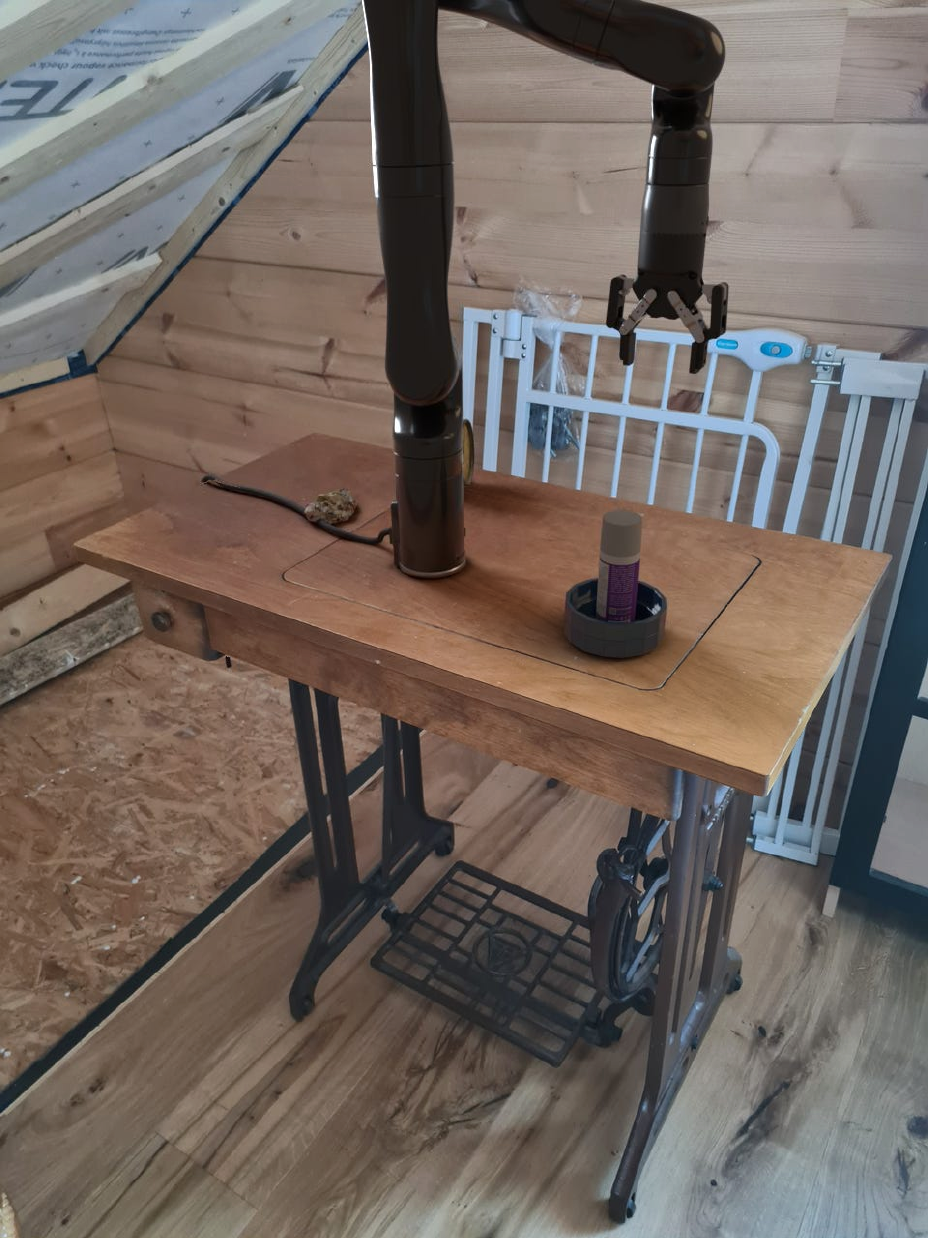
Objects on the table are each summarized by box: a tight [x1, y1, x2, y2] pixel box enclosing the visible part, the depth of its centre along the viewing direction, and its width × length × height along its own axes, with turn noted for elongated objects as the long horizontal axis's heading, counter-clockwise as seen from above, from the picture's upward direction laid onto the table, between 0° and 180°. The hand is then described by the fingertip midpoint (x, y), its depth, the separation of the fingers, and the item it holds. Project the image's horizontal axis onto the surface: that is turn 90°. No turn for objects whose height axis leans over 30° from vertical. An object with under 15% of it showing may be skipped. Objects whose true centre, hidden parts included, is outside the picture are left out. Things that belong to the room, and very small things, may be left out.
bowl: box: [563, 577, 668, 659], centre depth 111 cm, size 12×12×5 cm
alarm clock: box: [462, 418, 475, 487], centre depth 151 cm, size 11×5×16 cm, turn 168°
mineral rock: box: [304, 488, 357, 525], centre depth 146 cm, size 11×4×8 cm
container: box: [596, 509, 643, 623], centre depth 108 cm, size 5×5×15 cm
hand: (661, 368), depth 113 cm, fingers open, 8 cm apart
